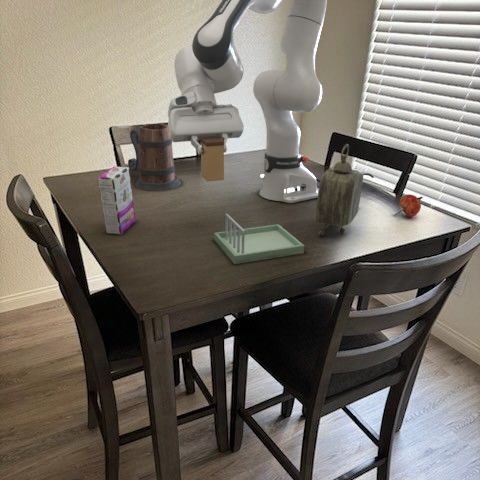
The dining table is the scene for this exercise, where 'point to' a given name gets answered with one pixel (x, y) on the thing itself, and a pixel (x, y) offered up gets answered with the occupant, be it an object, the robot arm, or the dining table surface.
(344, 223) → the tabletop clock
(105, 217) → the candy bar box
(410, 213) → the pomegranate
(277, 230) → the dish rack
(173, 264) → the dining table surface
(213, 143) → the kraft box
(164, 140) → the tankard
